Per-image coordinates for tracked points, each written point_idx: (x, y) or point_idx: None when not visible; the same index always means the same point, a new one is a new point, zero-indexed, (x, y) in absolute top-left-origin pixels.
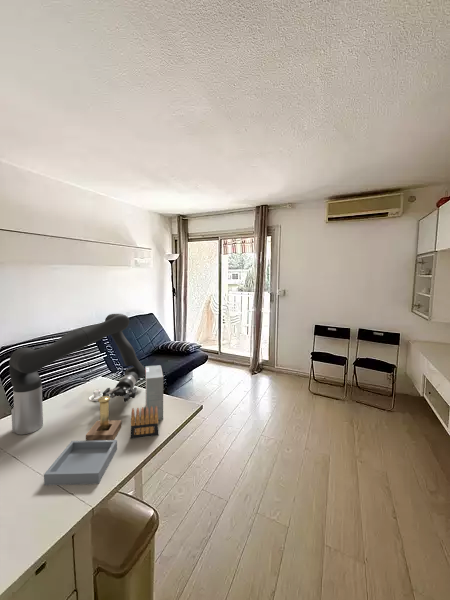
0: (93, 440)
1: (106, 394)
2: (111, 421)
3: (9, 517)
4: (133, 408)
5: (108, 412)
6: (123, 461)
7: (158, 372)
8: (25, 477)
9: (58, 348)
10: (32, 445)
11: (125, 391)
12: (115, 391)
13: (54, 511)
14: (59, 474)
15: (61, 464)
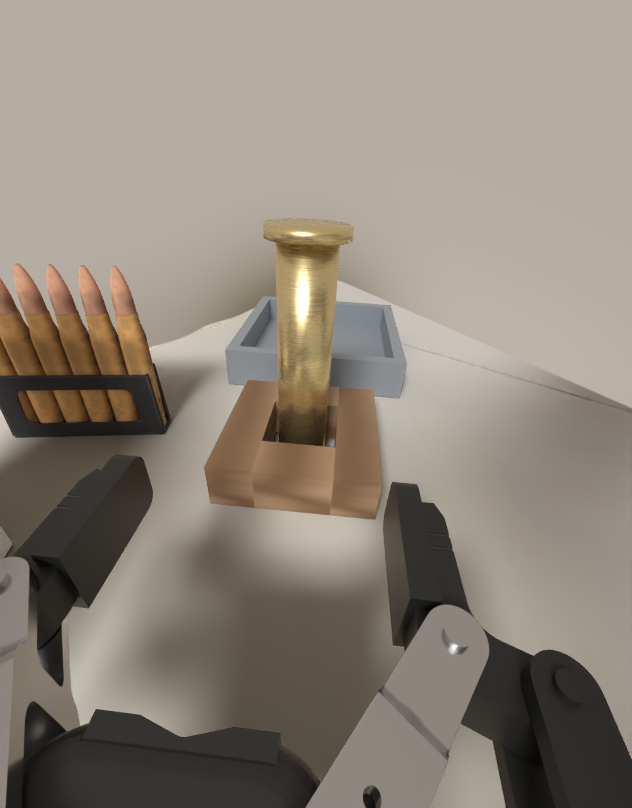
0: None
1: (456, 615)
2: (273, 463)
3: (396, 307)
4: (111, 269)
5: (277, 335)
6: (207, 351)
7: None
8: (451, 347)
9: None
10: (591, 432)
11: (21, 666)
12: (298, 788)
13: None
14: (353, 303)
15: (383, 347)
